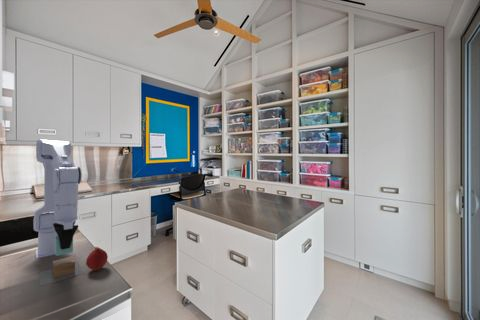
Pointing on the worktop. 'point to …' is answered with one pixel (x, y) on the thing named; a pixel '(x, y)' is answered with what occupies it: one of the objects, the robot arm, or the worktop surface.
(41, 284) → the mat
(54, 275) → the walnut block
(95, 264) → the red round piece
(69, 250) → the teal block
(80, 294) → the worktop surface
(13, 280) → the worktop surface
